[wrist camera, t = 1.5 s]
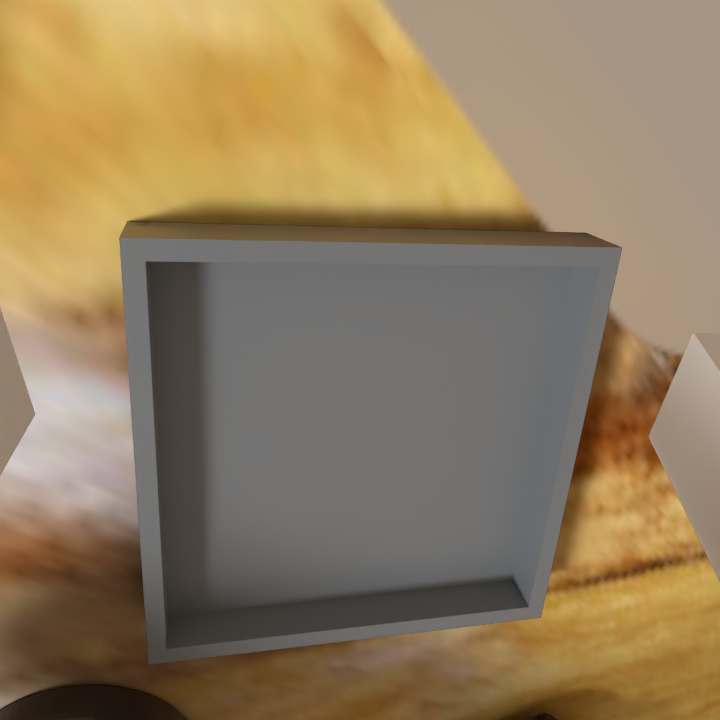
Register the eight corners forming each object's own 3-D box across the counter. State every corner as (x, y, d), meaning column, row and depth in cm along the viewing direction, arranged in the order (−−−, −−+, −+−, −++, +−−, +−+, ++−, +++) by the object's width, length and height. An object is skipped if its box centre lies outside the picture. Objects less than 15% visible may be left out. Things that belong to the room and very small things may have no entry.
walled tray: (517, 580, 46) (540, 617, 43) (152, 618, 40) (148, 664, 37) (585, 232, 37) (622, 247, 34) (127, 221, 31) (119, 237, 28)
